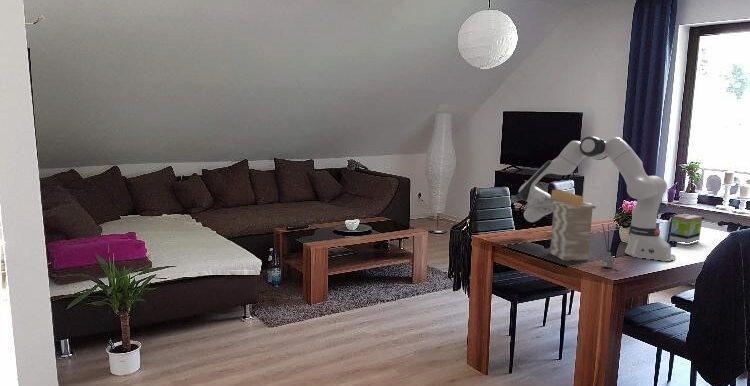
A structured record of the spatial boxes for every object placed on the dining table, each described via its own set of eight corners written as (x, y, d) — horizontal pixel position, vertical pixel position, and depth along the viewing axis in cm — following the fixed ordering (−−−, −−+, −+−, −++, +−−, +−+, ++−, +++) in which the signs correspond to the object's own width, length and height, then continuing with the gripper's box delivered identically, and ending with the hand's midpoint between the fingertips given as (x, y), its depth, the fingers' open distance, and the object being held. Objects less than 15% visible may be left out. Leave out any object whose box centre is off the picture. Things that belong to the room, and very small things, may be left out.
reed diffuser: (595, 266, 254) (599, 223, 251) (603, 263, 258) (607, 221, 255) (616, 271, 246) (621, 227, 243) (624, 269, 250) (628, 225, 247)
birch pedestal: (547, 252, 276) (551, 200, 272) (573, 251, 279) (577, 200, 275) (564, 261, 261) (568, 206, 257) (591, 260, 263) (595, 206, 259)
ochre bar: (551, 197, 282) (551, 189, 281) (558, 197, 283) (559, 189, 282) (574, 205, 260) (575, 197, 260) (582, 205, 261) (583, 196, 261)
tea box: (688, 245, 298) (691, 218, 296) (668, 242, 306) (671, 215, 303) (699, 242, 308) (702, 215, 305) (680, 238, 315) (683, 212, 313)
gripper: (522, 201, 295) (534, 192, 282) (558, 201, 299) (570, 191, 286) (524, 212, 293) (536, 203, 280) (560, 212, 297) (573, 203, 284)
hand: (554, 197), depth 283 cm, fingers open, 8 cm apart
